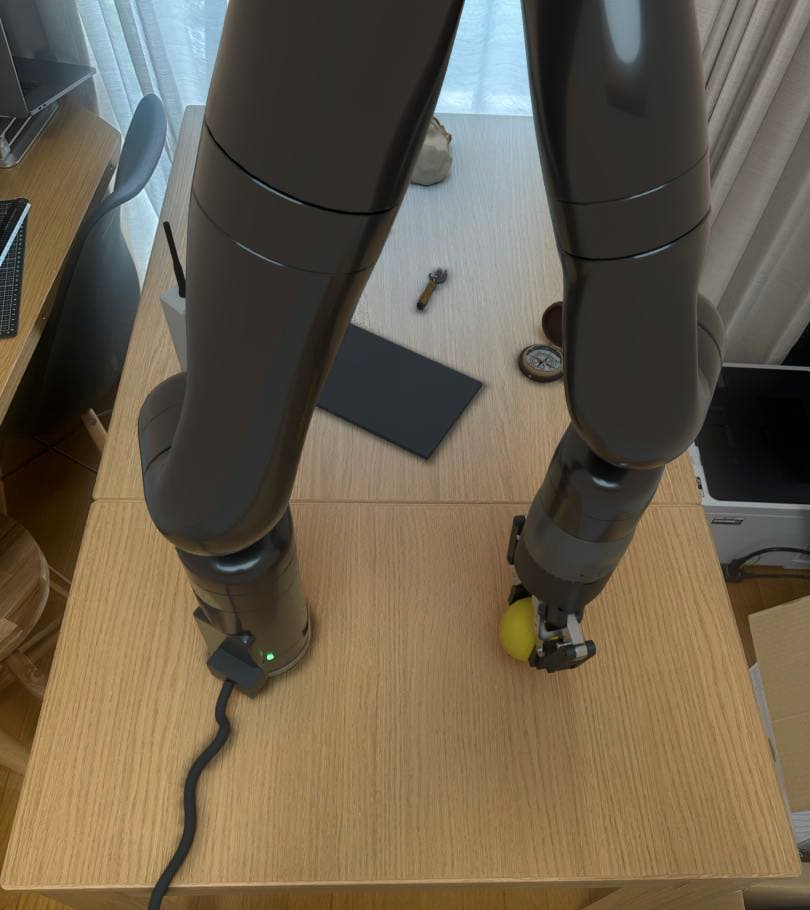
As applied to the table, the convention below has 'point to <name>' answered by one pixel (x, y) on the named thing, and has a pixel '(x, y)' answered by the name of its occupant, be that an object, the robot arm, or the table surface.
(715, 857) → the table surface
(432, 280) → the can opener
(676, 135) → the robot arm
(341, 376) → the mat
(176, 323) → the vintage mobile phone
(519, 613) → the lemon
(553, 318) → the compass
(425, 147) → the ceramic sculpture
